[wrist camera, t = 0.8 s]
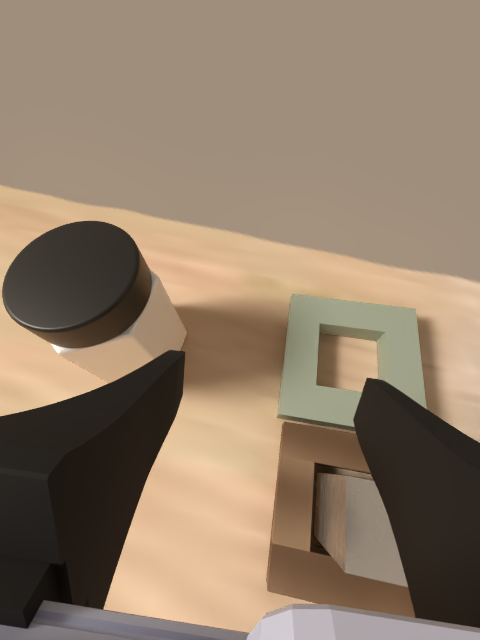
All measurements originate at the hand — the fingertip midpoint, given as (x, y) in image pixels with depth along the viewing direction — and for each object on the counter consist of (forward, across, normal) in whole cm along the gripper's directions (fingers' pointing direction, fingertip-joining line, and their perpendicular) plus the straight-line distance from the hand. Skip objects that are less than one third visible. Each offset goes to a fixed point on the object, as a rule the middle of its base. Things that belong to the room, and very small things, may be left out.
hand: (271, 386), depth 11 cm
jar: (+15, +11, +7) cm, 20 cm away
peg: (+5, -8, +13) cm, 16 cm away
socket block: (+5, -8, +13) cm, 16 cm away
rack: (+14, -8, +6) cm, 17 cm away
